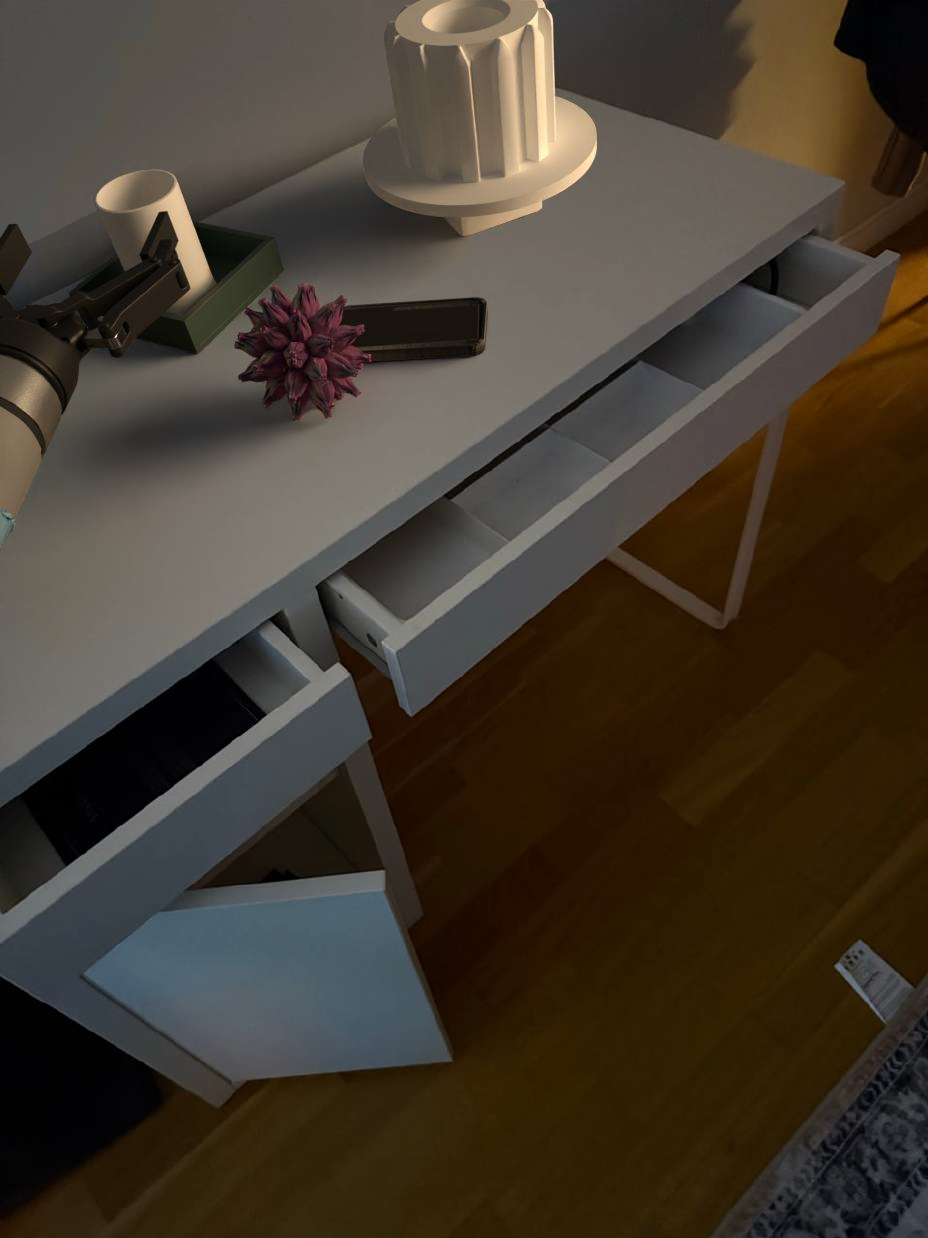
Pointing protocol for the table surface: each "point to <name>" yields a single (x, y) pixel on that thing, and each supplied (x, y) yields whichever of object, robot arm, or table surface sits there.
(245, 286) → the bin
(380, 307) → the phone
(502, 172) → the flanged gear
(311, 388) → the flower
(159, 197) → the mug
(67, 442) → the table surface
